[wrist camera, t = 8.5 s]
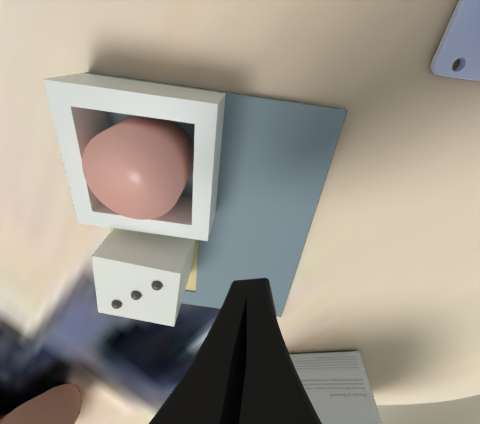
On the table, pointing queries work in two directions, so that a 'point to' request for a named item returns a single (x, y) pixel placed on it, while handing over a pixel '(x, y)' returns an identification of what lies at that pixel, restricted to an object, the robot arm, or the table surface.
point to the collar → (147, 105)
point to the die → (142, 275)
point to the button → (139, 166)
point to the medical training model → (48, 408)
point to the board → (260, 193)
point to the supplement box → (337, 387)
